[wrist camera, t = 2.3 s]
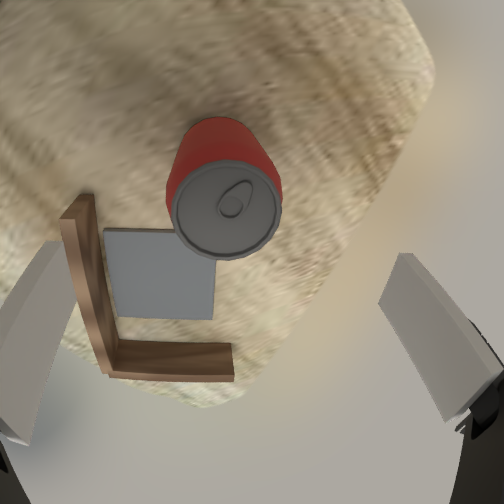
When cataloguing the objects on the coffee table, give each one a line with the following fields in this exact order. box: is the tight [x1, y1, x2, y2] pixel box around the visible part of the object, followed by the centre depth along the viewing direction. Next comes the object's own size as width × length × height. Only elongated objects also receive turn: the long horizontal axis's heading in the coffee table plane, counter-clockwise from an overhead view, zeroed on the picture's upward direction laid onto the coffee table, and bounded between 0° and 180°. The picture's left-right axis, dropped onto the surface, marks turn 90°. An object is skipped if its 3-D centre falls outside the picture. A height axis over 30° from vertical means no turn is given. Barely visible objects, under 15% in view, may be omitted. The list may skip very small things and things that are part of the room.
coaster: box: [103, 228, 216, 320], centre depth 31 cm, size 11×11×1 cm
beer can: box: [166, 117, 283, 261], centre depth 20 cm, size 7×7×12 cm
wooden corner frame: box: [59, 195, 234, 382], centre depth 30 cm, size 21×16×5 cm
